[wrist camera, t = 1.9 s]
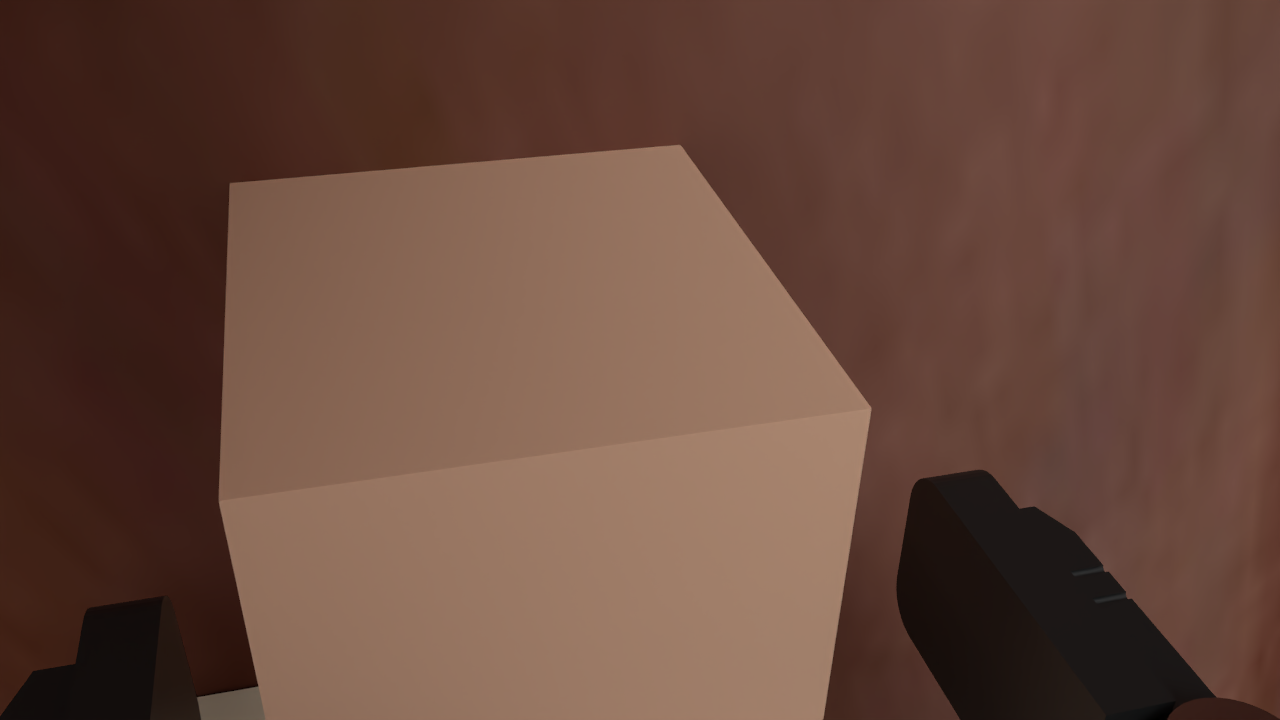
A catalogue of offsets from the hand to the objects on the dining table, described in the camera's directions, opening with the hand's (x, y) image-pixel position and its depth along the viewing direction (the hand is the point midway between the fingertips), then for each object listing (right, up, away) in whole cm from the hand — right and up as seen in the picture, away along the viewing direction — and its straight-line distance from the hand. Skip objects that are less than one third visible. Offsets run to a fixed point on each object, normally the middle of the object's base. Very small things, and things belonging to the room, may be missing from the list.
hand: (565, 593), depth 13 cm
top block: (-1, +3, +3) cm, 4 cm away
